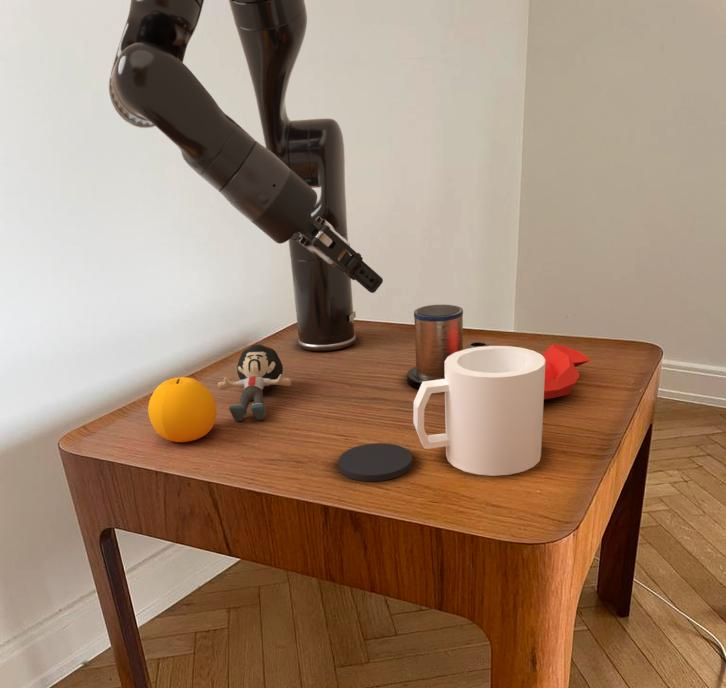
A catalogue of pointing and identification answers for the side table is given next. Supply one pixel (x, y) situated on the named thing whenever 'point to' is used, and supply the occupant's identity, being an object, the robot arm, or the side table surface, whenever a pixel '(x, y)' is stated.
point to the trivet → (375, 462)
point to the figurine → (255, 380)
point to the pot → (437, 338)
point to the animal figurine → (561, 370)
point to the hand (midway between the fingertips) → (368, 280)
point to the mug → (488, 409)
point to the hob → (415, 379)
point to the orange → (182, 409)
